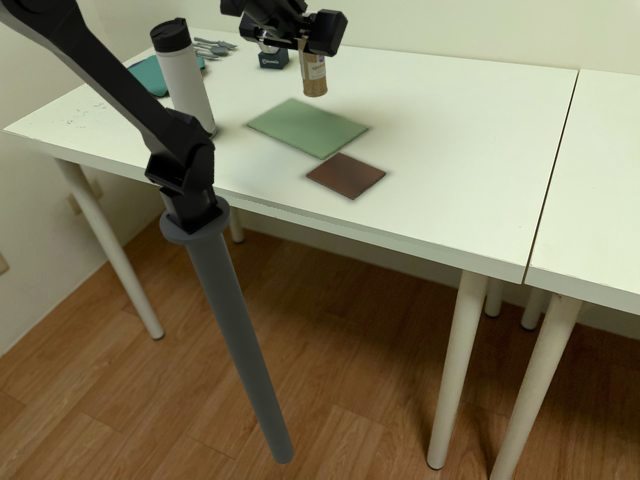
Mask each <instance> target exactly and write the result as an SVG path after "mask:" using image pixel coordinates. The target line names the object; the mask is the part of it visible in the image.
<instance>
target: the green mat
mask: <svg viewBox="0 0 640 480" xmlns="http://www.w3.org/2000/svg"><path fill="white" fill-rule="evenodd" d="M246 126H247V127H249V128H251V129H253V130H256V131H257V132H260V133H262V134H264V135H266V136H269V137H270V138H273V139H275V140H277V141H279V142H282V143H284V144H286V145H288V146H291V147H293V148H295V149H297V150H300V151H301V152H304V153H306V154H308V155H310V156H313V157H315V158H317V159H320V160H321V161H322V160H323V161H324V160H325V159H327V157H329V156H331V155H332V154H334V153H335V152H336V151H338V150H339V149H342V147H344V146H345V145H347V144H348V143H350V142H351V141H353V140H355V138H357V137H358V136H360V135H362V134H363V133H364V132H366V131H368V129H369V126H367V125H363V124H361V123H358V122H356V121H353V120H350V119H348V118H345V117H344V116H343V117H342V116H340V115H337V114H335V113H331V112H329V111H326V110H323V109H321V108H318V107H315V106H313V105H310V104H308V103H305V102H302V101H299V100H298V99H294V98H289V99H288V100H286V101H284V102H282V103H280V104H278V105H277V106H275V107H273V108H272V109H269V110H268V111H266V112H265V113H263V114H261V115H259V116H257V117H255V118H254V119H252V120H251V121H248V122H247V123H246Z"/></svg>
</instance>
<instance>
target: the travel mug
mask: <svg viewBox="0 0 640 480" xmlns="http://www.w3.org/2000/svg"><path fill="white" fill-rule="evenodd" d="M149 37H150V40H151V43H152V45H153V49H154V52H155V55H156V56H157V59H158V62H159V65H160V68H161V70H162V73H163V76H164V79H165V82H166V85H167V88H168V90H167V92H168V94H169V96H170V97H169V98H170V100H171V102H172V105H173V109H174V110H177V111H180V112H183V113H186V114H189V115H192V116H195V117H196V118H197V119H198V120H199V121H200V123H201V125H202V126H203V128H204V129H205V130H206V131H207V132H209V133H212V134H213V135H212V136H211V137H210V139H211V140H212V138H214V137H215V136H216V134H217V133H218V128H217V124H216V120H215V117H214V113H213V111H212V107H211V103H210V99H209V96H208V93H207V89H206V86H205V81H204V78H203V75H202V70H201V71H200V67H199V64H198V60H197V57H196V56H197V55H196V53H195V51H196V50H195V47H194V46H193V43H194V42H193V41H192V38H191V34H190V30H189V27H188V22H187V19H186V18H185V17H179V16H176V17H175V18H173V19H169V20H166V21H163V22H160V23H158V24H157V25H155V26H154V27H153V28H152V29H151V30H150V31H149Z"/></svg>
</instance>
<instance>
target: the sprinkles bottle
mask: <svg viewBox="0 0 640 480" xmlns="http://www.w3.org/2000/svg"><path fill="white" fill-rule="evenodd" d="M317 12H318V10H306V13H303V14H302V16H306V17H308V16H309V15H310V14H311V13H317ZM309 24H310V23H309ZM305 44H306V38H305V37H304V38H303V40H298V51H297V52H298V59H299V67H300V76H301V79H302V80H301V81H302V89H303V91H302V93H303V95H304V96H305V97H308V98H312V99H313V98H319V97H322V96H325V95H326V94H327V93H328V92H329V91H328V89H329V88H328V85H327V68H326V56H322V55H313V54H308V53H303V49H304V46H305Z"/></svg>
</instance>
